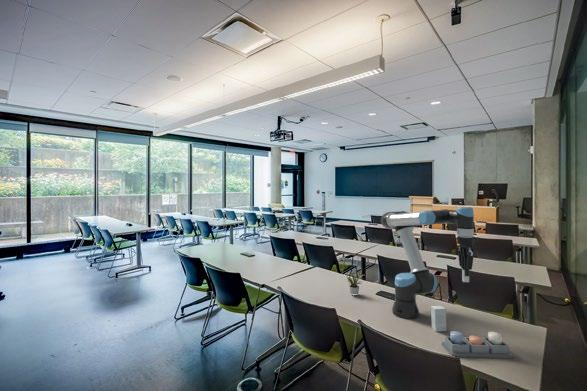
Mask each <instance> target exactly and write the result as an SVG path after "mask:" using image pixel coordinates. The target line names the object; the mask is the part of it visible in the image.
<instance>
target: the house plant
mask: <svg viewBox="0 0 587 391" xmlns="http://www.w3.org/2000/svg"><path fill="white" fill-rule="evenodd" d="M359 273H360V272H356V275H355V273H354V272H353V273H352V272H350V275H351V276H352V277H351V276H350V275H349V274H347V275H346V279H347V280H346V282H347V283H348V285H349V286H348V287H349V293H350V295H351V294H358V295H359V291H360V290H359V289H360V285H361V284H362V282H363V281H361V280H360V279H361V278H362V277H363V276H364V274H363V275H361V274H359ZM359 280H360V281H359Z"/></svg>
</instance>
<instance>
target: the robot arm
mask: <svg viewBox="0 0 587 391" xmlns="http://www.w3.org/2000/svg"><path fill="white" fill-rule="evenodd" d="M474 218H475V214H474V208H473V207H472V206H457V207H456V209H445V208H444V209H443V208H442V209H438V210H436V209H435V210H422V211H413V212H410V211H405V210H401V211H388V212H385V213H383V214H382V216H381V217H380V223H381V225H382V226H383V227H384V228H385V229H388V230H395V233H396V234H397V235H398V236H399V238H400V242H401V243H402V246H403V250H404V252H405V256H406V259H407V262H408V264H409V265H408V266H409V268H410V272H400V273H398V274H396V275H395V276H394V303H393V305H392V307H391V309H392V310H391V311H392V312H391V313H392V314H393V315H395V316H396V317H399V318H402V319H409V320H410V319H412V320H413V319H417V318H419V316H420V310H419V307H418V304H417V301H416V300H417V296H419V295H425V294H430V293H434V292H435V291H437V287H438V279H437V277H436V276H435V274H433V273H432V272H430V269H429V268H427V267H426V266H425V263H424V260H423V257H422V254H421V252H420V249H419V246H418V243H417V240H416V237H415V234H414V229H415V228H414V227H415V226H424V225H425V226H431V225H443V224H447V225H448V224H451V225H452V224H453V225H456V235H457V237H456V243H457V244H458V245H459V247H456V250H457V255H458V263H459V267H461V272H462V273H461V279H462V280H461V281H462V282H463V283H470V270H473V263H474V257H475V251H472V250H473V249H472V246H473V245H475V239H474V236H475V228H474V222H475V221H474Z"/></svg>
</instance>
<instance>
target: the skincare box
mask: <svg viewBox="0 0 587 391" xmlns="http://www.w3.org/2000/svg"><path fill="white" fill-rule="evenodd" d="M430 312H431V329H432V330H433V331H434V332H436V333H437V332H447V308H445V307H444V306H443V305H430Z"/></svg>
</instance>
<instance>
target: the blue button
mask: <svg viewBox="0 0 587 391" xmlns="http://www.w3.org/2000/svg"><path fill="white" fill-rule="evenodd" d="M449 335H450V336H449V337H450V341H451V342H453V343H455V344H463V337H464V334H463V333H462V332H460V331H457V330H456V331H455V330H452V331H449Z"/></svg>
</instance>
